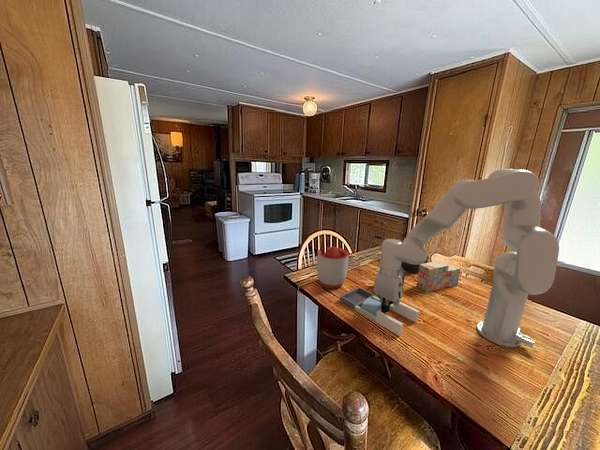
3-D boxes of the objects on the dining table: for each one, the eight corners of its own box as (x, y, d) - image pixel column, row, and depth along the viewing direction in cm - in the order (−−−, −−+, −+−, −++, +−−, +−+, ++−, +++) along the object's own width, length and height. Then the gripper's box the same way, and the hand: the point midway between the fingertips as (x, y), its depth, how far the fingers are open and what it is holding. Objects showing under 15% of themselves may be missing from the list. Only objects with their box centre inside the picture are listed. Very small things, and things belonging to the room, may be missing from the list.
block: (381, 310, 102) (382, 302, 101) (375, 317, 97) (376, 308, 96) (367, 305, 105) (368, 297, 104) (361, 311, 101) (362, 303, 100)
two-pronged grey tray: (417, 321, 95) (419, 311, 94) (399, 336, 87) (401, 325, 86) (358, 291, 117) (359, 282, 116) (339, 300, 108) (340, 291, 107)
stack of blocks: (446, 279, 130) (450, 258, 127) (457, 285, 124) (462, 263, 121) (416, 286, 123) (419, 263, 120) (426, 292, 117) (430, 268, 114)
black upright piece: (427, 271, 139) (432, 241, 135) (412, 274, 136) (417, 243, 131) (407, 261, 153) (411, 234, 149) (393, 263, 150) (397, 235, 145)
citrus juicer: (329, 272, 136) (330, 238, 131) (353, 285, 122) (356, 247, 117) (307, 280, 126) (308, 244, 121) (331, 294, 113) (333, 254, 108)
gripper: (413, 275, 91) (406, 317, 95) (378, 262, 102) (374, 300, 106) (403, 280, 86) (396, 325, 91) (367, 266, 97) (363, 306, 102)
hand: (384, 311), depth 99 cm, fingers closed
